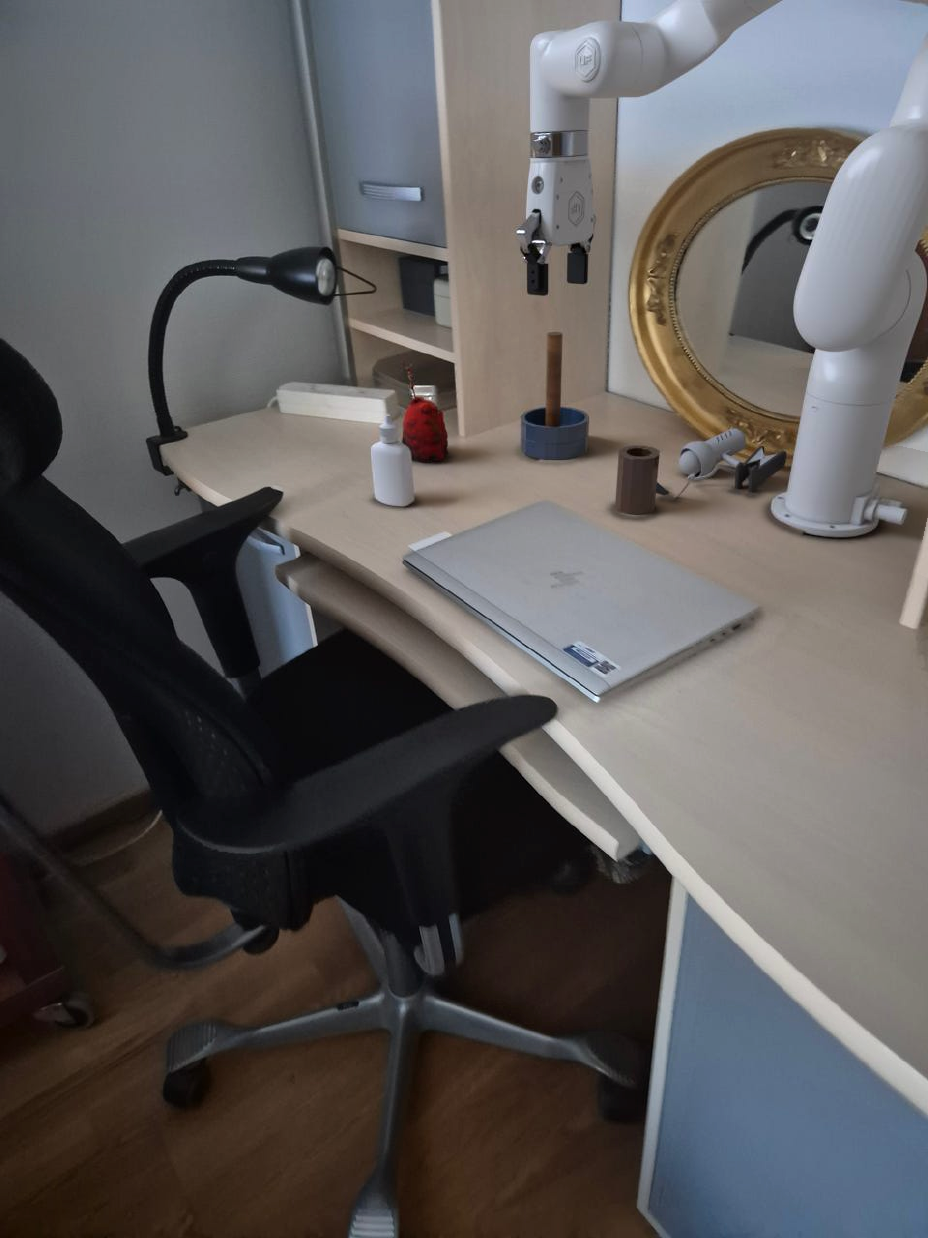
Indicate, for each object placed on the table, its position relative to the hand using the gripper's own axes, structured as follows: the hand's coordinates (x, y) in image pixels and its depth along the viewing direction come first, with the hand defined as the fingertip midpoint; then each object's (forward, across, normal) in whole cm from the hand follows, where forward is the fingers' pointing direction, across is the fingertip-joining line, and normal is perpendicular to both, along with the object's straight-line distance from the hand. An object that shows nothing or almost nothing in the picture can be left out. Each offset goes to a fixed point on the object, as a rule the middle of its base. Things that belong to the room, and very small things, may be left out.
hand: (557, 288), depth 114 cm
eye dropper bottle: (+24, -29, +7) cm, 38 cm away
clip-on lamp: (+24, 0, -25) cm, 35 cm away
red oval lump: (+23, -14, +15) cm, 31 cm away
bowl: (+23, -1, 0) cm, 23 cm away
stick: (+23, -1, 0) cm, 23 cm away
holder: (+24, -13, -21) cm, 35 cm away
